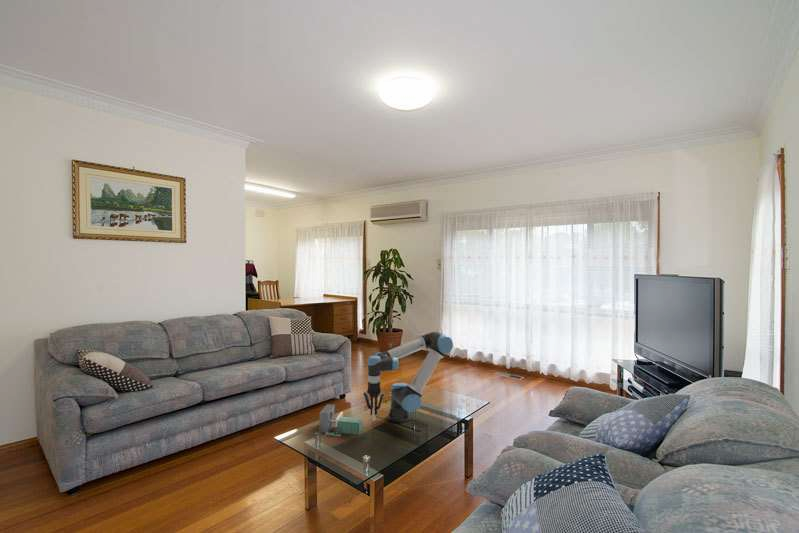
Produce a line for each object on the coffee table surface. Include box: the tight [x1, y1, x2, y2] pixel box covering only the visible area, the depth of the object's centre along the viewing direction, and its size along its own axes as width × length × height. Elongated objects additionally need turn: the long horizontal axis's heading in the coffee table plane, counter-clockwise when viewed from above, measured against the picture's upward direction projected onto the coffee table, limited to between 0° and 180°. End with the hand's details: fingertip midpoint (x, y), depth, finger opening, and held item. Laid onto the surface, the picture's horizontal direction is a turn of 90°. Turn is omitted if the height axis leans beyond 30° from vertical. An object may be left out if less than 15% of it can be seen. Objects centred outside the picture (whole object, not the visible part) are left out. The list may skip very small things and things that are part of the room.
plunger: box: [330, 411, 344, 434], centre depth 227 cm, size 13×16×8 cm
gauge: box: [318, 403, 342, 437], centre depth 227 cm, size 14×16×12 cm
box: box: [337, 416, 363, 436], centre depth 225 cm, size 7×14×8 cm, turn 83°
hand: (373, 419), depth 226 cm, fingers closed
